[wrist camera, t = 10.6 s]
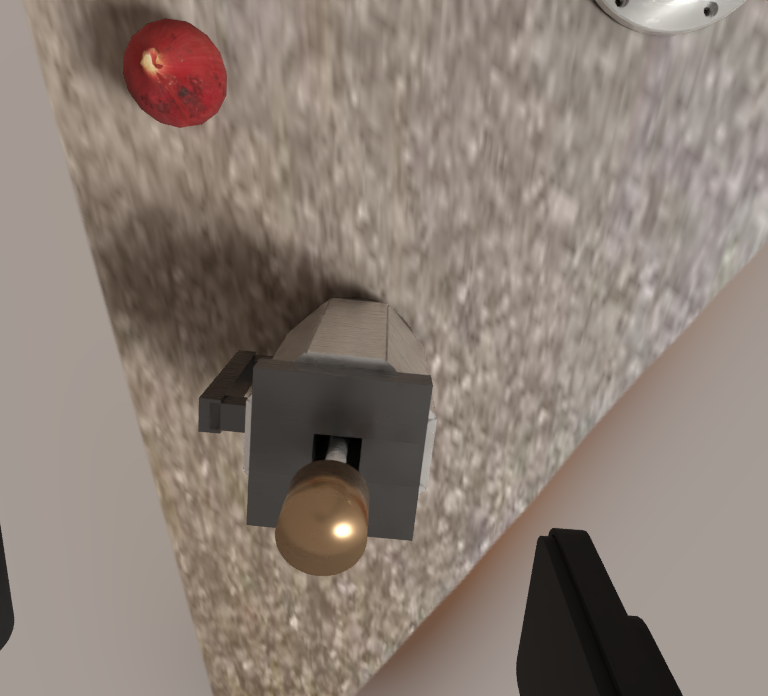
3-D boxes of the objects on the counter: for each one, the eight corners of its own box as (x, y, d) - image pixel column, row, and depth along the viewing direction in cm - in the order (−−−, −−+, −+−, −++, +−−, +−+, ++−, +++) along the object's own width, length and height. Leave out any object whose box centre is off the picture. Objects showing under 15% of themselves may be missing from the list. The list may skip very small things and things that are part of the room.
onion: (257, 95, 40) (226, 78, 32) (190, 148, 41) (144, 143, 33) (201, 14, 38) (153, -24, 31) (133, 71, 39) (71, 48, 32)
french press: (427, 304, 44) (446, 375, 29) (412, 428, 46) (422, 551, 32) (250, 286, 43) (177, 348, 28) (245, 412, 46) (176, 528, 31)
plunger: (404, 333, 41) (414, 469, 23) (393, 421, 43) (396, 614, 25) (308, 323, 41) (239, 452, 23) (302, 412, 43) (234, 599, 24)
